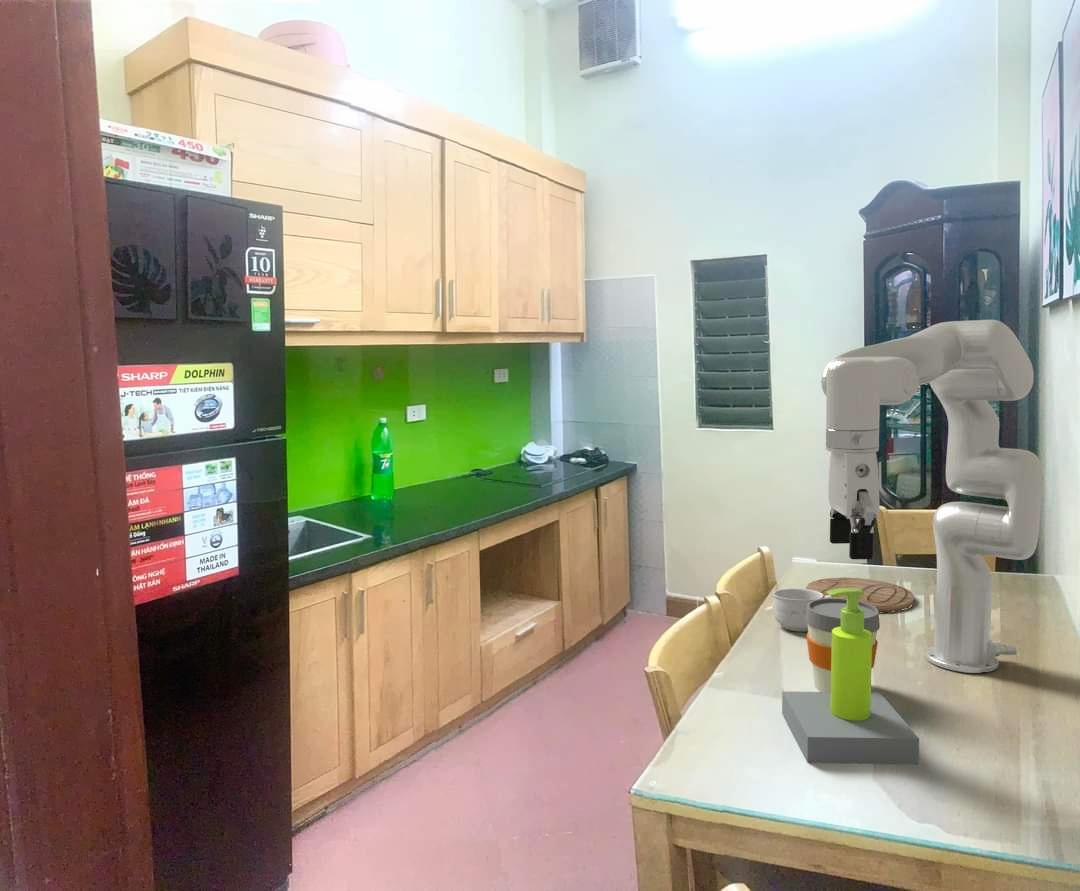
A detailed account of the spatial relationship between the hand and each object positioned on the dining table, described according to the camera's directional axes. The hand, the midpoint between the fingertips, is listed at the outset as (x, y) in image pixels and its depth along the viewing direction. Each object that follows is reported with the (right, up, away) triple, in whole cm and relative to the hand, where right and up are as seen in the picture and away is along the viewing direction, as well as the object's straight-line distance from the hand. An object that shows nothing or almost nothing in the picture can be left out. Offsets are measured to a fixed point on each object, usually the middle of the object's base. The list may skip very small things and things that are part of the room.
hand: (850, 550), depth 120 cm
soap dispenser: (+1, -26, +3) cm, 26 cm away
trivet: (+32, -22, +74) cm, 84 cm away
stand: (0, -30, +3) cm, 30 cm away
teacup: (+11, -25, +53) cm, 60 cm away
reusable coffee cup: (+7, -28, +22) cm, 36 cm away
